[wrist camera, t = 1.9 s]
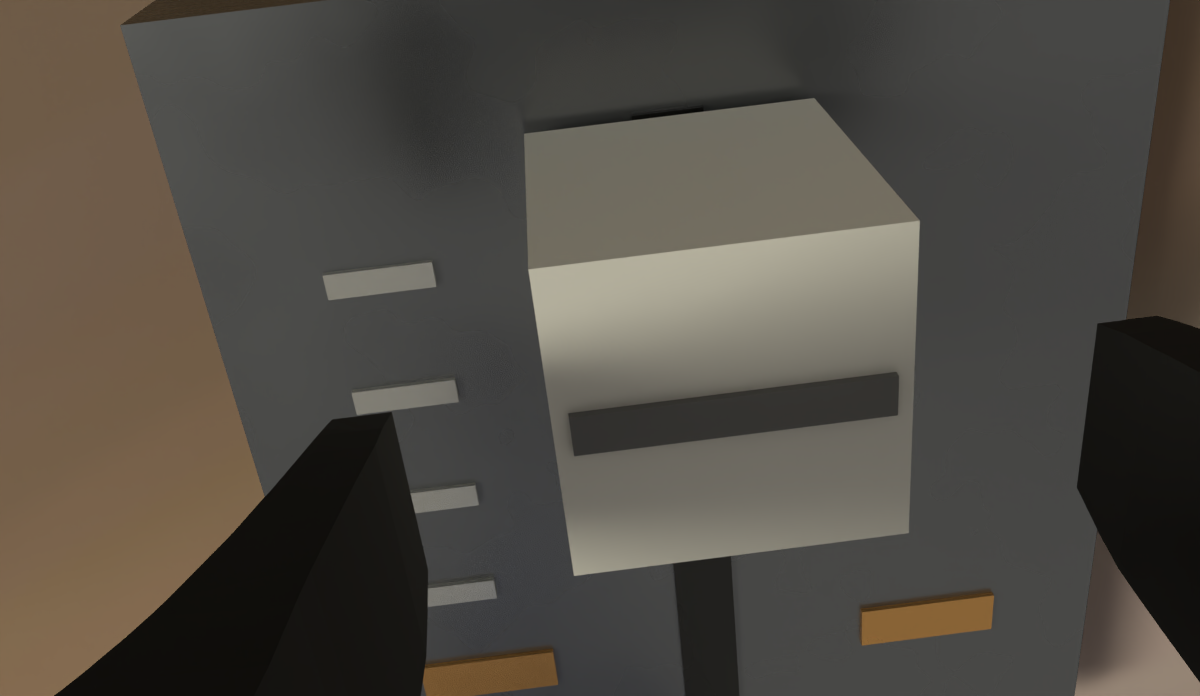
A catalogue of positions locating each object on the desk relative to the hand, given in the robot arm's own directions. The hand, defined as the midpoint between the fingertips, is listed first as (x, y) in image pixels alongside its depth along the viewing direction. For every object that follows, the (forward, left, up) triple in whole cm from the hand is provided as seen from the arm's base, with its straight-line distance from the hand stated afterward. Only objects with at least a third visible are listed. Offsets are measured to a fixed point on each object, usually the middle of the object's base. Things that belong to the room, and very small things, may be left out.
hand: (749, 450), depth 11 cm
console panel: (-4, 0, -8) cm, 9 cm away
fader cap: (0, 0, -5) cm, 5 cm away
